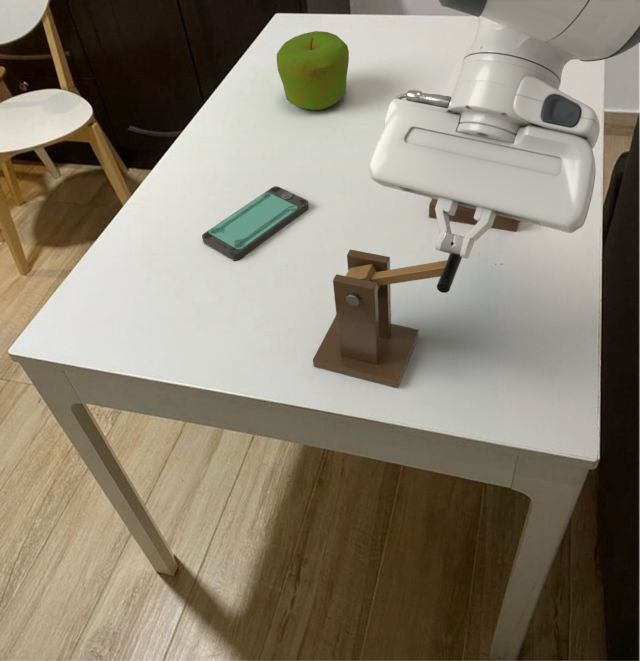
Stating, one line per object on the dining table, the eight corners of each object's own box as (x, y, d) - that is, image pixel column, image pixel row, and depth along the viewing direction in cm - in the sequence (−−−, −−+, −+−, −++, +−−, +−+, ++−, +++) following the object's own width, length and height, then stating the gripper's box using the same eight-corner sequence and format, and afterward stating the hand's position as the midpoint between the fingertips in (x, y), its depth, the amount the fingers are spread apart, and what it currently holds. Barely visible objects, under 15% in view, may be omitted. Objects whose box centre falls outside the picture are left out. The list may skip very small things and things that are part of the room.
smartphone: (310, 200, 95) (233, 254, 88) (310, 207, 95) (235, 261, 88) (274, 183, 98) (198, 234, 91) (275, 190, 99) (200, 241, 92)
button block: (529, 189, 94) (534, 165, 91) (516, 231, 88) (520, 207, 85) (447, 177, 97) (448, 153, 95) (428, 217, 91) (429, 193, 88)
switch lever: (469, 255, 64) (460, 236, 62) (453, 297, 60) (444, 277, 59) (365, 273, 71) (355, 256, 70) (346, 311, 67) (335, 293, 66)
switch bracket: (418, 336, 76) (420, 252, 67) (397, 388, 72) (397, 305, 62) (338, 318, 80) (330, 235, 70) (313, 366, 75) (300, 284, 65)
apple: (297, 82, 122) (289, 20, 114) (360, 86, 119) (356, 23, 111) (272, 116, 115) (262, 52, 106) (339, 122, 111) (334, 56, 103)
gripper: (384, 74, 60) (339, 220, 62) (616, 116, 52) (557, 282, 54) (404, 97, 66) (363, 230, 68) (616, 138, 58) (563, 288, 60)
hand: (451, 254), depth 61 cm, fingers closed
